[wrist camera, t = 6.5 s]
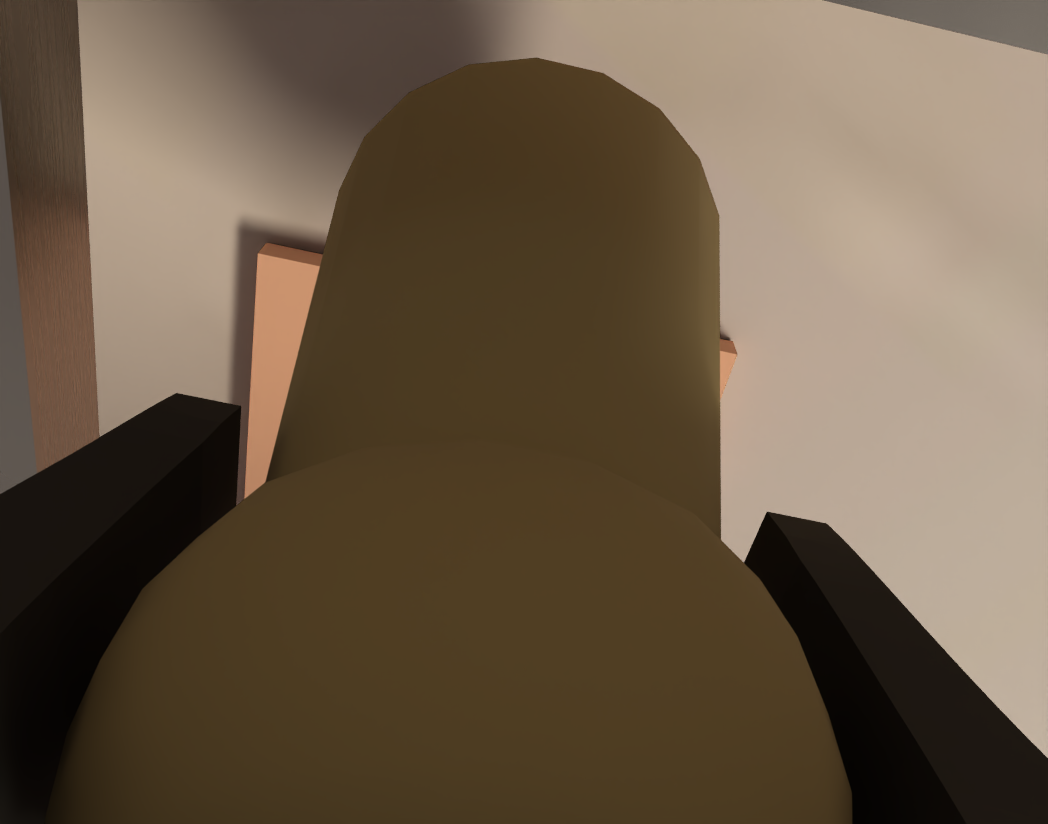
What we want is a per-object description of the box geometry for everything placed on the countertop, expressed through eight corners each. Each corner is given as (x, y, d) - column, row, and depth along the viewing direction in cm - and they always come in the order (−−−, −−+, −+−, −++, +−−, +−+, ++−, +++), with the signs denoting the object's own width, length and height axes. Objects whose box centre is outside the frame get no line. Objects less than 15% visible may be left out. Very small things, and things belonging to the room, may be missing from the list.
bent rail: (989, 823, 27) (1150, 1189, 20) (141, 673, 25) (-40, 1011, 18) (1662, -14, 15) (2772, 104, 7) (113, -417, 13) (-500, -799, 6)
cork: (252, 201, 14) (-410, 974, 4) (593, -36, 12) (647, 495, 2) (477, 471, 16) (347, 1303, 7) (786, 317, 14) (1157, 1205, 5)
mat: (612, 662, 24) (613, 679, 24) (245, 594, 24) (238, 610, 23) (733, 341, 19) (737, 354, 19) (266, 242, 18) (258, 253, 18)
